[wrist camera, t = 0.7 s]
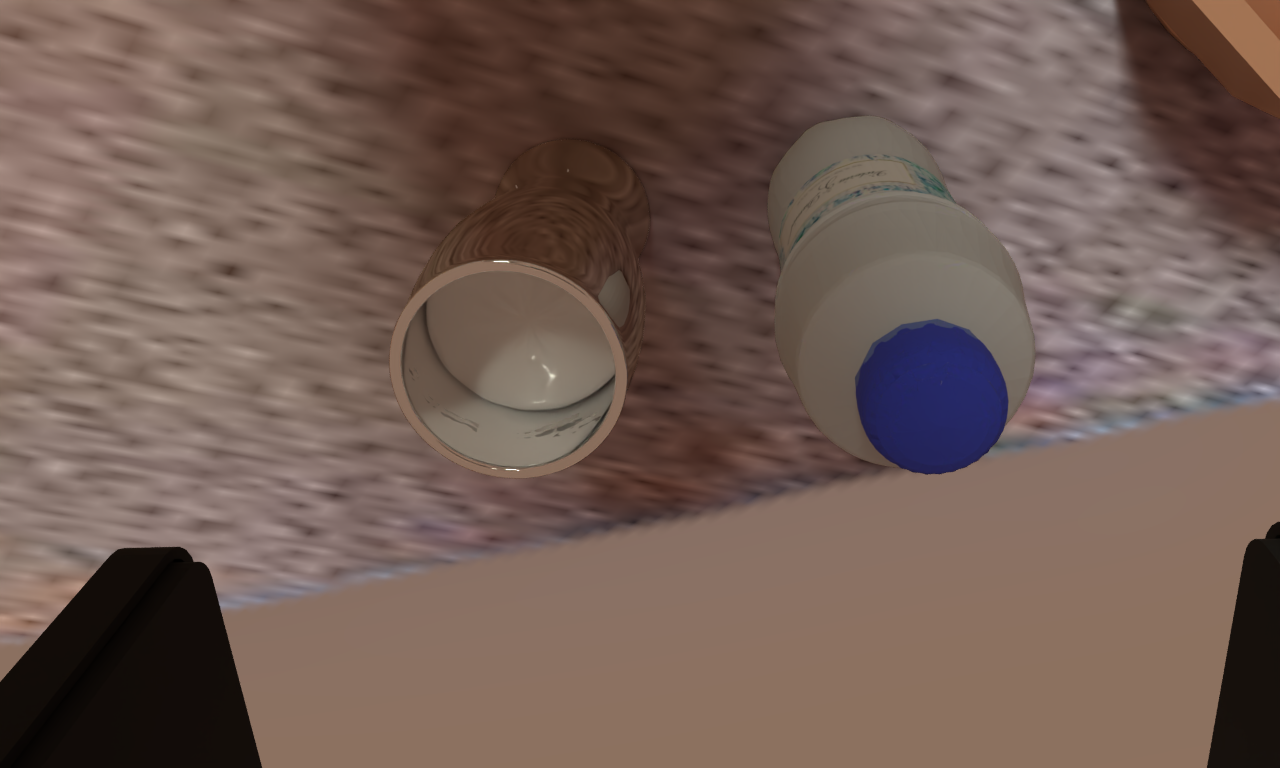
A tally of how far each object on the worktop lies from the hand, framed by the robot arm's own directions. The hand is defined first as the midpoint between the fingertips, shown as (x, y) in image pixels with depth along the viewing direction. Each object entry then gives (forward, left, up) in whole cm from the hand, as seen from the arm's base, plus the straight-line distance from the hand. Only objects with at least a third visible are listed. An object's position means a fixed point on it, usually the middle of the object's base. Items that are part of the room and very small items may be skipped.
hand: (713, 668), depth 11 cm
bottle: (+7, 0, -35) cm, 36 cm away
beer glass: (0, -8, -35) cm, 36 cm away
